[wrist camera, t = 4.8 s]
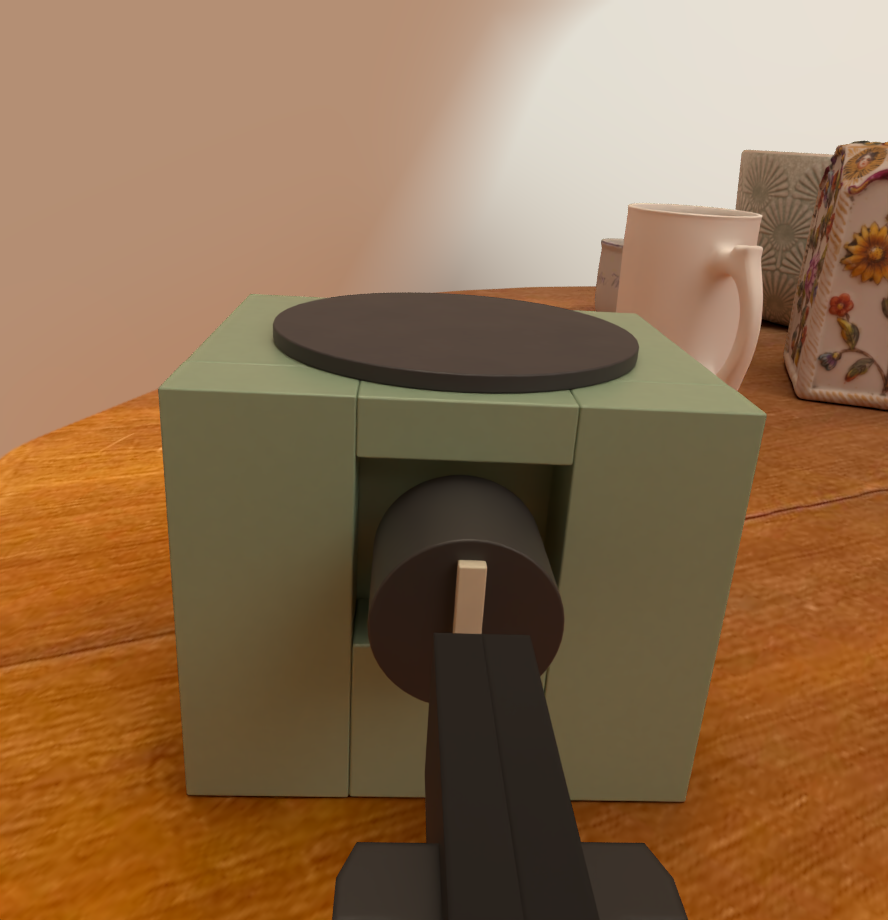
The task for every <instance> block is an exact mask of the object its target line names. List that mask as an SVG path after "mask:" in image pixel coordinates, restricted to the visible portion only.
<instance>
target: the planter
mask: <svg viewBox="0 0 888 920" xmlns="http://www.w3.org/2000/svg"><path fill="white" fill-rule="evenodd" d="M832 156H833V155H829V154H811V153H795V152H776V151H758V150H757V151H756V150H744V151H743V152H742V156H741V165H740V174H739V184H738V192H737V202H736V210H740V211H746V212H752V213H757V214H760V215H762V219H761V224H760V229H759V235H758V241H757V246H761V247H762V248H763V252H762V256H761V269H762V282H763V310H762V319H764V320H767V321H770V322H773V323H777V324H781V325H786V326H789V324H790V317H791V312H792V306H793V301H794V297H795V293H796V288H797V284H798V279H799V275H800V271H801V266H802V262H803V257H804V252H805V249H806V244H807V239H808V235H809V230H810V225H811V221H812V216H813V213H814V208H815V204H816V199H817V196H818V190H819V184H820V183H821V180H822V177H823V175H824V172H825V169H826V167H828V166H829V165H830V163H831V160H830V159H831V157H832Z"/></svg>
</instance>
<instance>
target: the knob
mask: <svg viewBox="0 0 888 920" xmlns="http://www.w3.org/2000/svg"><path fill="white" fill-rule="evenodd" d="M564 622H565V617H564V607H563V603H562V599H561V596H560V593H559V590H558V587H557V584H556V581H555V578H554V575H553V572H552V569H551V566H550V563H549V560H548V557H547V554H546V551H545V548H544V545H543V542H542V539H541V536H540V533H539V530H538V527H537V524H536V522H535V520H534V517H533V516H532V514H531V512H530V511H529V509H528V508H527V506H526V505H525V504H524V503H523V502H522V500H521V499H520V498H518V497H517V496H516V495H515V494H514V493H513V492H511V491H510V490H508V489H507V488H506V487H504V486H502V485H500V484H498V483H496V482H493V481H491V480H488V479H485V478H481V477H476V476H469V475H449V476H442V477H437V478H434V479H430V480H427V481H425V482H422V483H420V484H418V485H416V486H414V487H413V488H411V489H409V490H408V491H406V492H405V493H404V494H402V495H401V496H400V497H399V498H398V499H397V500H396V501H394V502H393V503H392V505H391V506H390V507H389V508H388V510H387V511H386V512H385V514H384V516H383V517H382V519H381V521H380V523H379V526H378V528H377V531H376V535H375V539H374V547H373V558H372V571H371V584H370V597H369V609H368V622H367V628H368V639H369V643H370V647H371V650H372V653H373V656H374V658H375V660H376V661H377V663H378V665H379V667H380V668H381V669H382V671H383V672H384V673H385V675H386V676H387V677H388V678H389V679H390V680H391V681H392V682H393V683H394V684H395V685H396V686H398V687H399V688H400V689H401V690H403V691H404V692H406V693H408V694H409V695H411V696H413V697H414V698H417V699H419V700H421V701H424V702H427V703H429V696H430V680H431V664H432V648H433V633H465V634H502V635H530V637H531V641H532V645H533V649H534V653H535V657H536V661H537V666H538V670H539V674H540V677H541V675H542V674H543V673H544V672H545V671H546V670H547V668H548V667H549V666H550V664H551V663H552V661H553V659H554V658H555V656H556V654H557V652H558V649H559V647H560V644H561V641H562V637H563V632H564Z"/></svg>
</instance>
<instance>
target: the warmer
mask: <svg viewBox="0 0 888 920" xmlns="http://www.w3.org/2000/svg"><path fill="white" fill-rule="evenodd" d="M158 393H159V407H160V421H161V435H162V450H163V464H164V478H165V492H166V507H167V521H168V535H169V549H170V564H171V578H172V592H173V606H174V621H175V635H176V649H177V663H178V677H179V692H180V706H181V720H182V734H183V749H184V763H185V777H186V791H187V795H219V796H292V797H348V795H349V794H350V796H352V797H415V798H425V759H426V743H427V727H428V711H429V703H427V702H424V701H421V700H419V699H417V698H414V697H413V696H411V695H409V694H408V693H406V692H404V691H403V690H401V689H400V688H399V687H398V686H396V685H395V684H394V683H393V682H392V681H391V680H390V679H389V678H388V677H387V676H386V675H385V673H384V672H383V671H382V669H381V668H380V667H379V665H378V663H377V661H376V660H375V658H374V656H373V653H372V650H371V647H370V643H369V639H368V628H367V622H368V609H369V597H370V584H371V571H372V558H373V547H374V539H375V535H376V531H377V528H378V526H379V523H380V521H381V519H382V517H383V516H384V514H385V512H386V511H387V510H388V508H389V507H390V506H391V505H392V503H393V502H394V501H396V500H397V499H398V498H399V497H400V496H401V495H402V494H404V493H405V492H406V491H408V490H409V489H411V488H413V487H414V486H416V485H418V484H420V483H422V482H425V481H427V480H430V479H434V478H437V477H442V476H449V475H469V476H476V477H481V478H485V479H488V480H491V481H493V482H496V483H498V484H500V485H502V486H504V487H506V488H507V489H508V490H510V491H511V492H513V493H514V494H515V495H516V496H517V497H518V498H520V499H521V500H522V502H523V503H524V504H525V505H526V506H527V508H528V509H529V511H530V512H531V514H532V516H533V517H534V520H535V522H536V524H537V527H538V530H539V533H540V536H541V539H542V542H543V545H544V548H545V551H546V554H547V557H548V560H549V563H550V566H551V569H552V572H553V575H554V578H555V581H556V584H557V587H558V590H559V593H560V596H561V599H562V603H563V607H564V617H565V622H564V632H563V637H562V641H561V644H560V647H559V649H558V652H557V654H556V656H555V658H554V659H553V661H552V663H551V664H550V666H549V667H548V668H547V670H546V671H545V672H544V673H543V674H542V675H541V677H540V678H541V682H542V686H543V690H544V694H545V698H546V702H547V706H548V710H549V715H550V719H551V723H552V727H553V731H554V735H555V739H556V743H557V747H558V751H559V755H560V759H561V764H562V768H563V772H564V776H565V780H566V784H567V788H568V792H569V796H570V800H589V801H662V802H684V801H685V799H686V794H687V789H688V785H689V780H690V775H691V771H692V766H693V761H694V756H695V752H696V747H697V742H698V737H699V733H700V728H701V723H702V719H703V714H704V709H705V704H706V700H707V695H708V690H709V686H710V681H711V676H712V671H713V667H714V662H715V657H716V652H717V648H718V643H719V638H720V634H721V629H722V624H723V619H724V615H725V610H726V605H727V601H728V596H729V591H730V586H731V582H732V577H733V572H734V567H735V563H736V558H737V553H738V549H739V544H740V539H741V534H742V530H743V525H744V520H745V516H746V511H747V506H748V501H749V497H750V492H751V487H752V482H753V478H754V473H755V468H756V464H757V459H758V454H759V449H760V445H761V440H762V435H763V431H764V426H765V421H766V413H764V412H763V411H762V410H761V409H759V408H758V407H757V406H755V405H754V404H753V403H752V402H750V401H749V400H748V399H746V398H745V397H744V396H743V395H741V394H740V393H739V392H737V391H736V390H735V389H734V388H732V387H731V386H729V385H728V384H726V383H725V382H724V381H722V380H721V379H720V378H719V377H717V376H716V375H715V374H713V373H712V372H711V371H710V370H708V369H707V368H706V367H704V366H703V365H702V364H701V363H699V362H698V361H697V360H695V359H694V358H693V357H692V356H690V355H689V354H688V353H686V352H685V351H684V350H683V349H681V348H680V347H679V346H678V345H676V344H675V343H674V342H672V341H671V340H670V339H669V338H667V337H666V336H665V335H663V334H662V333H661V332H660V331H658V330H657V329H656V328H654V327H653V326H652V325H651V324H649V323H648V322H647V321H645V320H644V319H643V318H642V317H640V316H639V315H638V314H635V313H615V312H595V311H576V310H568V309H564V308H560V307H555V306H549V305H544V304H539V303H532V302H526V301H519V300H512V299H504V298H495V297H486V296H475V295H461V294H444V293H372V294H357V295H347V296H338V297H331V298H317V297H297V296H278V295H259V294H251V295H249V296H248V297H247V298H246V299H245V300H244V301H243V302H242V303H241V305H239V306H238V307H237V308H236V309H235V311H234V312H233V313H232V314H231V315H230V316H229V317H228V318H227V319H226V320H225V321H224V322H223V323H222V324H221V325H220V326H219V327H218V328H217V329H216V330H215V331H214V332H213V333H212V334H211V335H210V337H208V338H207V339H206V340H205V341H204V342H203V344H202V345H201V346H200V347H199V348H198V349H197V350H196V351H195V352H194V353H193V354H192V355H191V356H190V357H189V358H188V359H187V360H186V361H185V362H183V364H181V365H180V367H179V368H178V369H177V370H176V371H175V372H174V373H173V374H172V375H171V376H170V377H169V378H168V379H167V380H166V381H165V382H164V383H163V384H162V385H161V386H160V387H159V389H158Z"/></svg>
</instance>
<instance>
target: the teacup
mask: <svg viewBox="0 0 888 920" xmlns="http://www.w3.org/2000/svg"><path fill="white" fill-rule="evenodd" d="M623 244H624V239H602V241H601V245H602V252H601V257H600V263H599V269H598V276H597V284H596V294H595V309H596V312H615V313H616V306H617V298H618V289H619V280H620V271H621V262H622V253H623Z"/></svg>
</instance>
